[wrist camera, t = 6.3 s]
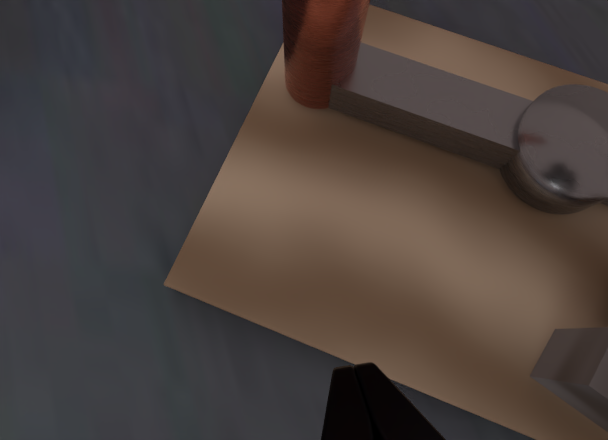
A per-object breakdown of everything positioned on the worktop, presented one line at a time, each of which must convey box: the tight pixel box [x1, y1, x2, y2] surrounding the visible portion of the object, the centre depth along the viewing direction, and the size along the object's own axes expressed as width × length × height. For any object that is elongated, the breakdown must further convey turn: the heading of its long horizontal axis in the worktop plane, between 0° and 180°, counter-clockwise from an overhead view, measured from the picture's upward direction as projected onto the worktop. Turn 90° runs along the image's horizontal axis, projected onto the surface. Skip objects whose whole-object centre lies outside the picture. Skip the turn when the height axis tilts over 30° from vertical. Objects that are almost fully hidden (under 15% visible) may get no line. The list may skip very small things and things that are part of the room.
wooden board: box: [164, 5, 608, 440], centre depth 15 cm, size 15×20×4 cm
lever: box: [282, 0, 608, 215], centre depth 11 cm, size 18×4×11 cm, turn 68°
